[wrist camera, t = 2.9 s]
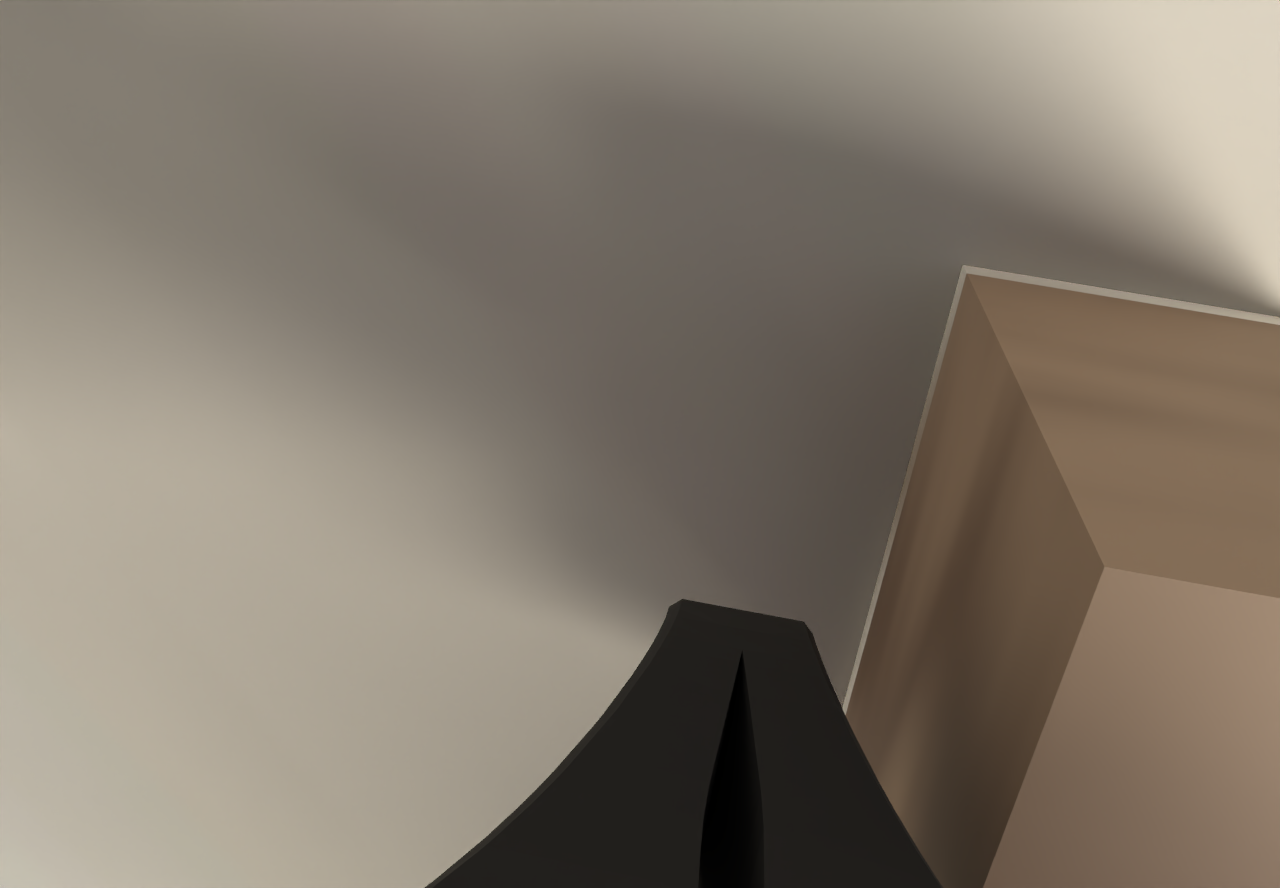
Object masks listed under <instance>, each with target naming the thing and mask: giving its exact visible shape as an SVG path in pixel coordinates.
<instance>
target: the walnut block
mask: <svg viewBox="0 0 1280 888" xmlns="http://www.w3.org/2000/svg"><path fill="white" fill-rule="evenodd" d="M842 709H843V711H844V713H845V716H846V718H847V720H848V722H849V724H850V726H851V728H852V730H853V732H854V734H855V736H856V738H857V740H858V742H859V744H860V746H861V748H862V750H863V752H864V754H865V756H866V758H867V760H868V762H869V763H870V765H871V767H872V769H873V771H874V773H875V775H876V777H877V779H878V781H879V783H880V785H881V786H882V788H883V790H884V792H885V794H886V795H887V797H888V799H889V801H890V802H891V804H892V806H893V808H894V810H895V811H896V813H897V815H898V816H899V818H900V820H901V821H902V823H903V825H904V826H905V828H906V830H907V831H908V833H909V835H910V836H911V838H912V840H913V841H914V843H915V845H916V846H917V848H918V850H919V851H920V853H921V854H922V856H923V857H924V859H925V861H926V862H927V864H928V865H929V867H930V868H931V870H932V871H933V873H934V875H935V876H936V878H937V879H938V881H939V882H940V884H941V885H942V887H943V888H1280V317H1276V316H1270V315H1264V314H1258V313H1252V312H1246V311H1240V310H1234V309H1228V308H1222V307H1216V306H1210V305H1204V304H1198V303H1191V302H1185V301H1179V300H1173V299H1167V298H1161V297H1155V296H1149V295H1143V294H1137V293H1131V292H1125V291H1119V290H1113V289H1107V288H1101V287H1094V286H1088V285H1082V284H1076V283H1070V282H1064V281H1058V280H1052V279H1046V278H1040V277H1034V276H1028V275H1022V274H1016V273H1010V272H1004V271H997V270H991V269H985V268H979V267H973V266H967V265H962V269H961V272H960V276H959V280H958V284H957V287H956V291H955V295H954V298H953V302H952V306H951V309H950V313H949V317H948V320H947V324H946V328H945V331H944V335H943V339H942V343H941V346H940V350H939V354H938V357H937V361H936V365H935V368H934V372H933V376H932V379H931V383H930V387H929V390H928V394H927V398H926V402H925V405H924V409H923V413H922V416H921V420H920V424H919V427H918V431H917V435H916V438H915V442H914V446H913V449H912V453H911V457H910V461H909V464H908V468H907V472H906V475H905V479H904V483H903V486H902V490H901V494H900V497H899V501H898V505H897V508H896V512H895V516H894V520H893V523H892V527H891V531H890V534H889V538H888V542H887V545H886V549H885V553H884V556H883V560H882V564H881V567H880V571H879V575H878V579H877V582H876V586H875V590H874V593H873V597H872V601H871V604H870V608H869V612H868V615H867V619H866V623H865V626H864V630H863V634H862V638H861V641H860V645H859V649H858V652H857V656H856V660H855V663H854V667H853V671H852V674H851V678H850V682H849V685H848V689H847V693H846V697H845V700H844V704H843V708H842Z"/></svg>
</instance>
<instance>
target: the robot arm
mask: <svg viewBox="0 0 1280 888" xmlns="http://www.w3.org/2000/svg"><path fill="white" fill-rule="evenodd" d="M425 888H943V887H942V885H941V884H940V882H939V881H938V879H937V878H936V876H935V875H934V873H933V871H932V870H931V868H930V867H929V865H928V864H927V862H926V861H925V859H924V857H923V856H922V854H921V853H920V851H919V850H918V848H917V846H916V845H915V843H914V841H913V840H912V838H911V836H910V835H909V833H908V831H907V830H906V828H905V826H904V825H903V823H902V821H901V820H900V818H899V816H898V815H897V813H896V811H895V810H894V808H893V806H892V804H891V802H890V801H889V799H888V797H887V795H886V794H885V792H884V790H883V788H882V786H881V785H880V783H879V781H878V779H877V777H876V775H875V773H874V771H873V769H872V767H871V765H870V763H869V762H868V760H867V758H866V756H865V754H864V752H863V750H862V748H861V746H860V744H859V742H858V740H857V738H856V736H855V734H854V732H853V730H852V728H851V726H850V724H849V722H848V720H847V718H846V716H845V713H844V711H843V709H842V707H841V705H840V702H839V700H838V698H837V696H836V693H835V691H834V689H833V687H832V684H831V682H830V679H829V677H828V675H827V672H826V670H825V667H824V665H823V662H822V660H821V657H820V654H819V651H818V649H817V646H816V643H815V640H814V637H813V634H812V633H811V631H810V630H809V628H808V627H807V625H806V624H805V623H804V622H802V621H797V620H791V619H786V618H781V617H775V616H770V615H765V614H759V613H754V612H749V611H743V610H738V609H732V608H727V607H722V606H716V605H711V604H706V603H700V602H695V601H690V600H684V599H682V600H680V601H678V602H677V603H675V604H673V605H671V606H670V607H669V609H668V612H667V615H666V618H665V620H664V623H663V625H662V627H661V629H660V631H659V633H658V635H657V636H656V638H655V640H654V642H653V644H652V645H651V647H650V649H649V650H648V652H647V653H646V655H645V657H644V658H643V660H642V661H641V663H640V664H639V666H638V667H637V669H636V670H635V672H634V673H633V675H632V676H631V678H630V679H629V680H628V682H627V683H626V684H625V686H624V687H623V688H622V690H621V691H620V692H619V694H618V695H617V696H616V698H615V699H614V700H613V702H612V703H611V704H610V706H609V707H608V709H607V710H606V711H605V713H604V714H603V715H602V716H601V718H600V719H599V720H598V721H597V723H596V724H595V725H594V726H593V727H592V729H591V730H590V731H589V732H588V733H587V734H586V735H585V737H584V738H583V739H582V740H581V741H580V742H579V743H578V744H577V746H576V747H575V748H574V749H573V750H572V751H571V752H570V754H569V755H568V756H567V757H566V758H565V759H564V760H563V762H562V763H561V764H560V765H559V766H558V767H557V768H556V770H555V771H554V772H553V773H552V774H551V775H550V776H549V777H548V778H547V779H546V780H545V781H544V782H543V783H542V784H541V785H540V786H539V787H538V788H537V789H536V790H535V791H534V792H533V793H532V794H531V795H530V796H529V797H528V798H527V799H526V800H525V801H524V802H523V803H522V804H521V805H520V806H519V807H518V808H517V809H516V810H515V811H514V812H513V813H512V814H511V815H510V816H509V817H507V818H506V819H505V820H504V821H503V822H502V823H501V824H500V825H499V826H498V827H497V828H496V829H494V830H493V831H492V832H491V833H490V834H489V835H488V836H487V837H486V838H485V839H483V840H482V841H481V842H480V843H479V844H477V845H476V846H475V847H474V848H473V849H471V850H470V851H469V852H468V853H467V854H465V855H464V856H463V857H462V858H461V859H459V860H458V861H457V862H456V863H455V864H453V865H452V866H451V867H450V868H449V869H447V870H446V871H445V872H444V873H443V874H441V875H440V876H439V877H438V878H437V879H435V880H434V881H433V882H432V883H430V884H429V885H428V886H426V887H425Z"/></svg>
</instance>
